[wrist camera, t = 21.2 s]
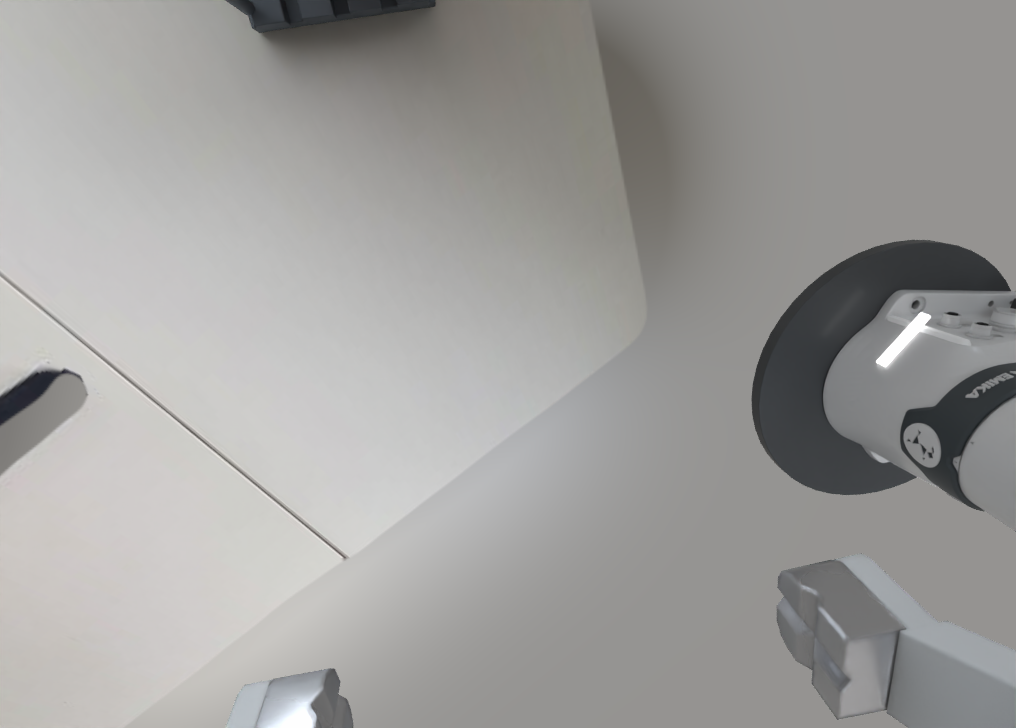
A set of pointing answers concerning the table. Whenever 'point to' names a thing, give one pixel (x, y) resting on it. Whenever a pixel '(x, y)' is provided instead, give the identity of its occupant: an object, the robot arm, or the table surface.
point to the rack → (317, 11)
